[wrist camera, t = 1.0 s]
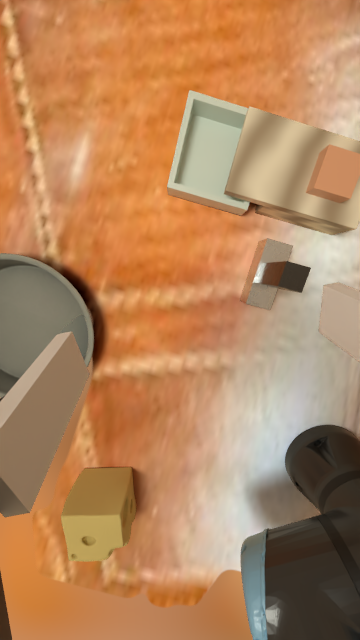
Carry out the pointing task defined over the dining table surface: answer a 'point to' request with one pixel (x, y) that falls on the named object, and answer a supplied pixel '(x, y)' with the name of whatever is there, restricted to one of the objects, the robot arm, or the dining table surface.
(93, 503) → the cheese
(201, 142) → the box
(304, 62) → the dining table surface
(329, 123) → the dining table surface
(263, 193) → the ledge
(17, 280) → the cake pan
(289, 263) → the scraper
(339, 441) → the robot arm
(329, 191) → the tile
